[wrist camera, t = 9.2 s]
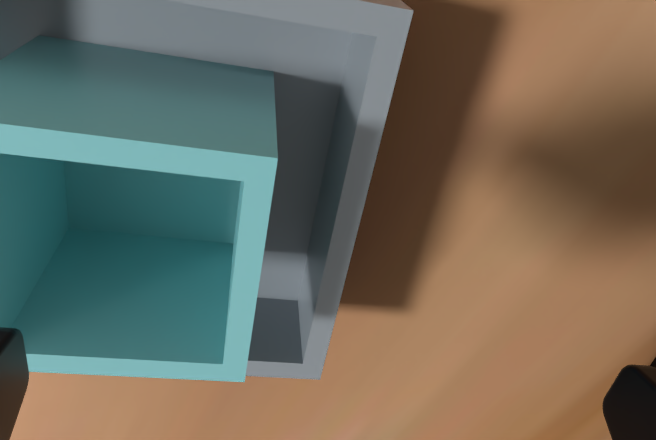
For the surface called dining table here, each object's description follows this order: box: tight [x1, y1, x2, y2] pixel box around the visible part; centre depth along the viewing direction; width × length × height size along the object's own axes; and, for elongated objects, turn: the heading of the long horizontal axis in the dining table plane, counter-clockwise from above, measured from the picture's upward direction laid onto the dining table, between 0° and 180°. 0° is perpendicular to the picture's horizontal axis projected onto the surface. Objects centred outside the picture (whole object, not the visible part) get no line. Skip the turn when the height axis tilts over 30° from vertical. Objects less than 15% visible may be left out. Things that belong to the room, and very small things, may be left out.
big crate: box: [0, 0, 414, 380], centre depth 16 cm, size 12×12×4 cm
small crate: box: [0, 35, 278, 382], centre depth 14 cm, size 6×6×6 cm
